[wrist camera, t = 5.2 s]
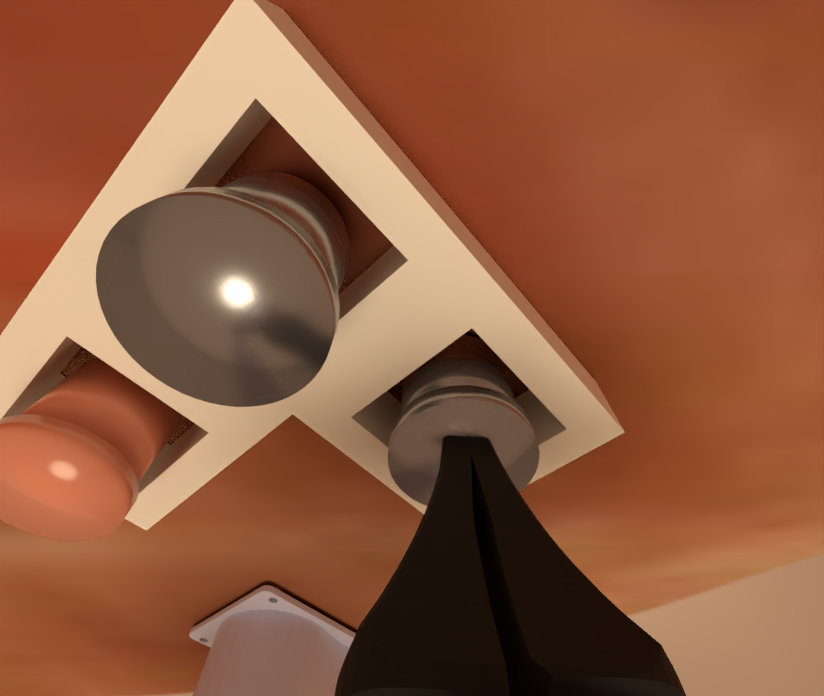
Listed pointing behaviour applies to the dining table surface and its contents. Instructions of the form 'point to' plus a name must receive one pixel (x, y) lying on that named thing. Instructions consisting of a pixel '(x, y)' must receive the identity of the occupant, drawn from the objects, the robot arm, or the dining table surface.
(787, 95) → the dining table surface
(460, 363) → the metal plug
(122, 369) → the socket block
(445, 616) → the robot arm
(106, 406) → the terracotta plug
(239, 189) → the metal plug
